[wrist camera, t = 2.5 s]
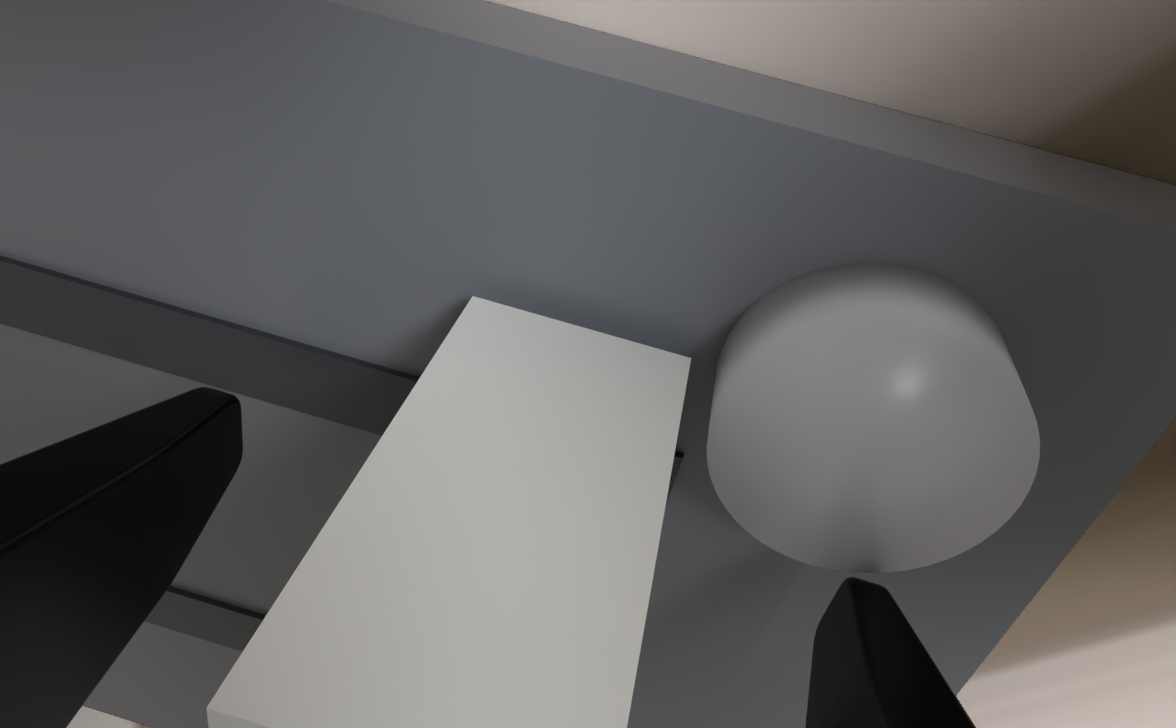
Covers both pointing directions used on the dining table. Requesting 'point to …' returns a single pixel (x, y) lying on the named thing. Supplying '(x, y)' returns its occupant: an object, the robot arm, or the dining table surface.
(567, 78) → the console
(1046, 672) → the dining table surface
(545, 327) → the fader
